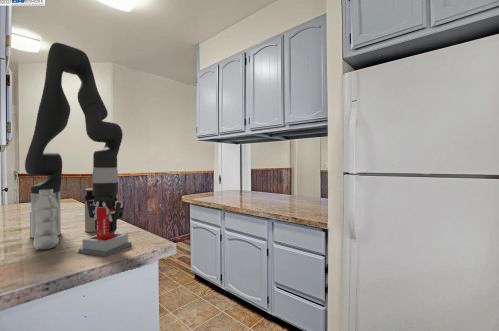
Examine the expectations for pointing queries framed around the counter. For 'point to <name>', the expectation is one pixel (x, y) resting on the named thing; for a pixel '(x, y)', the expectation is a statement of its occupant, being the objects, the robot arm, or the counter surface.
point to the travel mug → (88, 221)
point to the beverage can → (103, 224)
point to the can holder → (104, 245)
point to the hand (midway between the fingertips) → (105, 231)
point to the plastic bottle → (46, 220)
